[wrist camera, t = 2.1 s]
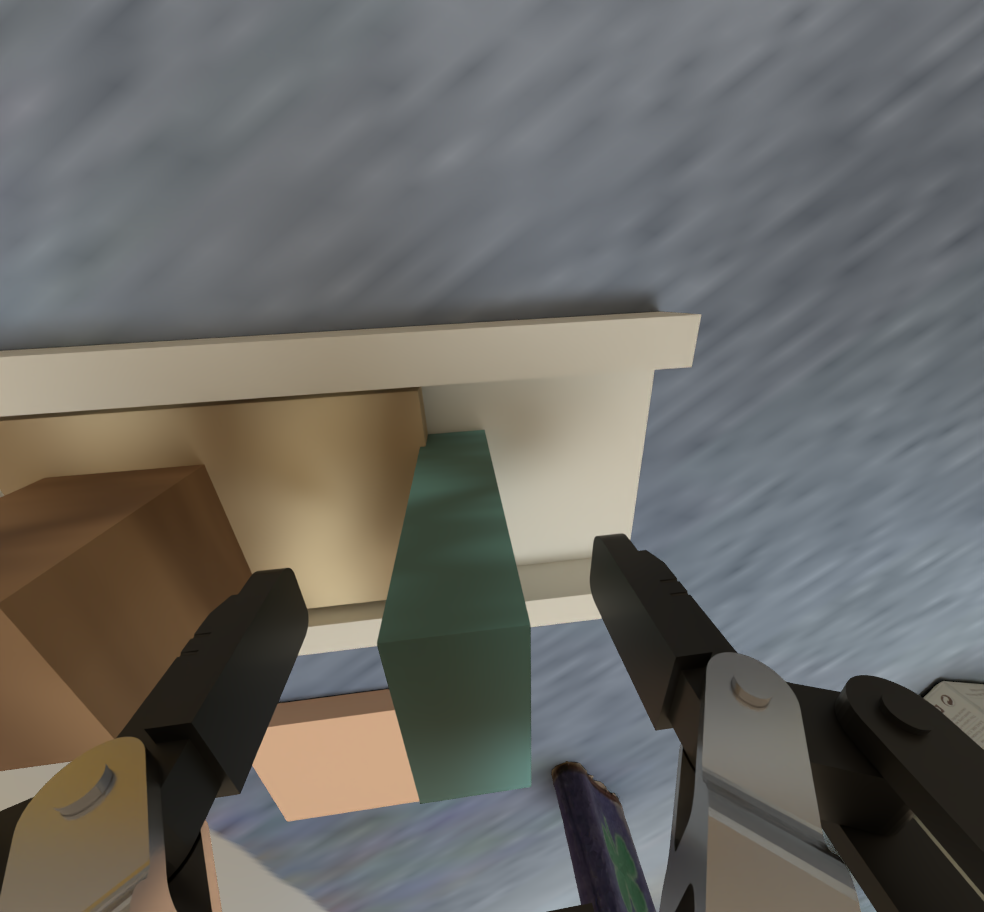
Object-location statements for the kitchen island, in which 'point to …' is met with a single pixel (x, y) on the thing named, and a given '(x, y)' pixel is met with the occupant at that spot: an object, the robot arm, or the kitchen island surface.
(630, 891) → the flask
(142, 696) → the block
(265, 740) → the plate
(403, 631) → the l-shaped stand
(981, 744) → the skincare box
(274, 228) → the kitchen island surface
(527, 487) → the cream tray
